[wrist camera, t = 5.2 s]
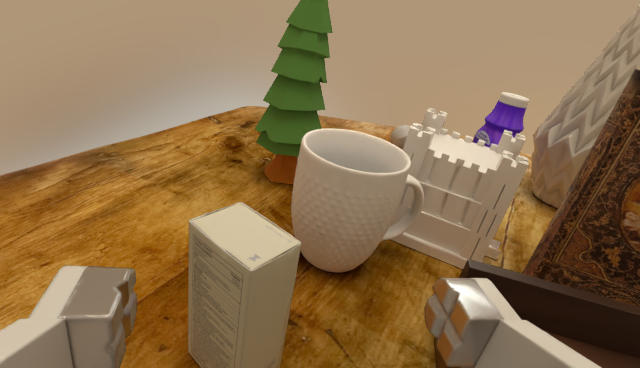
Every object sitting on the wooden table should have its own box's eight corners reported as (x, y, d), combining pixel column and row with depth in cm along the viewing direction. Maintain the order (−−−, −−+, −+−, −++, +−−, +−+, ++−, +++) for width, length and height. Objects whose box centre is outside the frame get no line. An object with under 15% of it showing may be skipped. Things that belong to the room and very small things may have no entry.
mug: (385, 226, 51) (414, 135, 45) (425, 285, 42) (468, 179, 36) (274, 225, 46) (291, 123, 40) (292, 291, 37) (317, 170, 31)
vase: (577, 188, 78) (674, 16, 64) (630, 234, 63) (772, 23, 49) (497, 172, 78) (576, -5, 63) (531, 214, 63) (645, -4, 48)
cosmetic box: (280, 372, 29) (308, 244, 24) (233, 411, 26) (252, 273, 20) (229, 321, 32) (243, 198, 27) (181, 350, 29) (186, 217, 24)
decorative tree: (320, 174, 61) (365, -39, 48) (299, 198, 53) (346, -50, 40) (265, 156, 63) (294, -53, 50) (237, 177, 55) (262, -66, 42)
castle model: (399, 195, 60) (428, 107, 53) (498, 232, 55) (543, 140, 49) (374, 233, 49) (407, 127, 42) (495, 282, 44) (552, 173, 38)
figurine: (402, 161, 68) (383, 120, 76) (395, 182, 72) (378, 141, 80) (444, 159, 69) (422, 118, 77) (435, 180, 73) (415, 139, 81)
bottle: (448, 183, 68) (486, 86, 60) (476, 186, 69) (517, 91, 61) (469, 205, 61) (514, 100, 54) (499, 208, 63) (548, 105, 55)
